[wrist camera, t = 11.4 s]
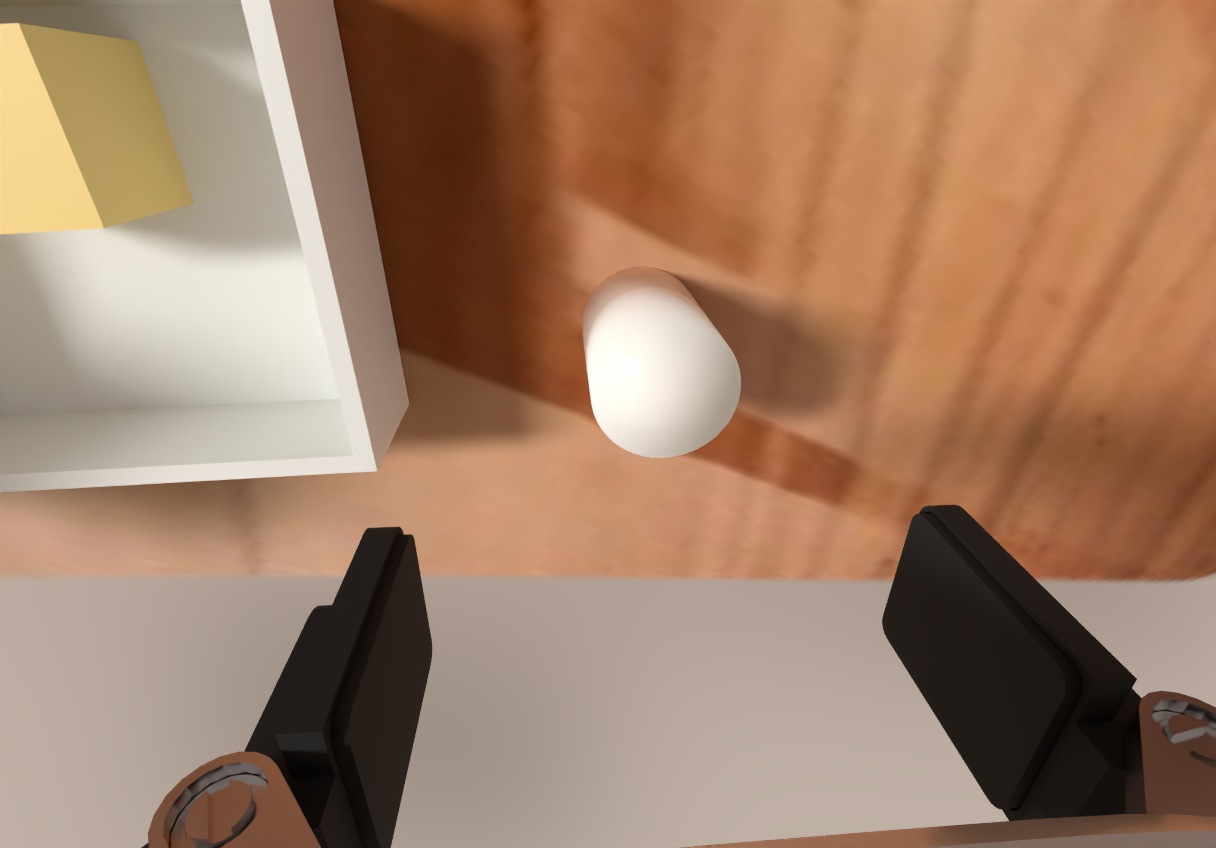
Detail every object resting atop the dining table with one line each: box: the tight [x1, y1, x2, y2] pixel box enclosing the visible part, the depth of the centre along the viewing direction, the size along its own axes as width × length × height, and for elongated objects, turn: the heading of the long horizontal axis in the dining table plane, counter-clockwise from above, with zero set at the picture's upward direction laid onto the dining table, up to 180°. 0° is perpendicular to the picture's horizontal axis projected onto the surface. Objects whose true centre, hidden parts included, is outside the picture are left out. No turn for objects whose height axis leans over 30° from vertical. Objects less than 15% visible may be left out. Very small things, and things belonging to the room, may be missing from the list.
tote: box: [0, 0, 409, 492], centre depth 20 cm, size 17×15×6 cm
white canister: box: [582, 267, 741, 458], centre depth 23 cm, size 5×5×7 cm
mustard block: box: [0, 23, 194, 234], centre depth 19 cm, size 5×5×5 cm
